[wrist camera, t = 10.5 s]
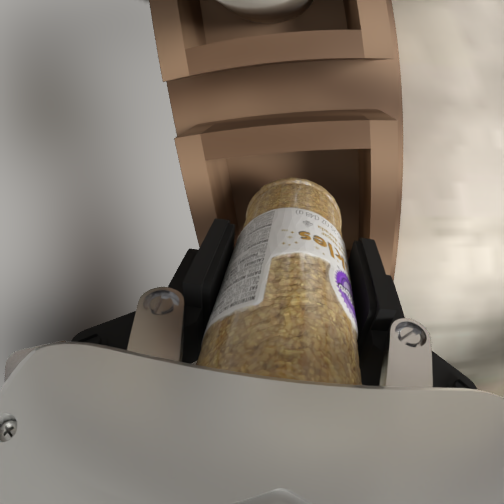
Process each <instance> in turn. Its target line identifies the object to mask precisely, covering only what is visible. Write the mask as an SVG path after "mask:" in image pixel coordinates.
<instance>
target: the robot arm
mask: <svg viewBox="0 0 504 504" xmlns="http://www.w3.org/2000/svg"><path fill="white" fill-rule="evenodd" d="M234 239H235V224H230V220H225V219H217V218H215V219H214V221H213V223H212V225H211V227H210V229H209V231H208V233H207V235H206V236H205V238H204V240H203V242H202V244H201V246H200V248H199V250H196V249H189V250H188V251H187V253H186V255H185V257H184V258H183V260H182V262H181V264H180V266H179V267H178V269H177V271H176V273H175V275H174V277H173V279H172V280H171V282H170V284H169V286H168V287H158V288H154V289H151V290H149V291H147V292H145V293H144V294H143V295H142V296H141V297H140V300H139V302H138V305H137V310H136V311H135V312H132V313H129V314H127V315H124V316H121V317H119V318H116V319H113V320H110V321H108V322H105V323H102V324H100V325H97V326H94V327H91V328H89V329H86V330H84V331H82V332H80V333H78V334H77V335H76V336H75V337H74V338H73V340H72V341H71V342H66V341H65V340H64V341H59V342H54V343H50V344H46V345H41V346H36V347H31V348H26V349H21V350H18V351H16V352H14V353H13V354H11V355H10V356H9V358H8V359H7V361H6V365H5V383H4V385H3V386H2V388H1V389H0V504H504V398H503V397H501V396H499V395H496V394H493V393H490V392H487V391H482V390H477V388H476V386H475V385H474V383H473V382H472V381H471V380H470V379H469V378H467V377H466V376H465V375H463V374H462V373H461V372H459V371H458V370H457V369H455V368H454V367H453V366H451V365H450V364H449V363H447V362H446V361H445V360H443V359H442V358H441V357H439V356H438V355H437V354H435V353H434V352H433V351H432V349H431V337H430V334H429V332H428V330H427V329H426V328H425V327H424V326H423V325H422V324H420V323H419V322H417V321H415V320H412V319H407V318H405V317H404V314H403V311H402V307H401V304H400V301H399V298H398V295H397V291H396V288H395V285H394V282H393V279H392V277H391V276H390V275H386V273H385V269H384V266H383V263H382V260H381V257H380V254H379V251H378V249H377V246H376V243H375V240H373V239H367V238H359V240H358V241H355V240H354V242H353V245H352V249H351V252H350V256H349V260H348V265H349V271H350V280H351V286H352V293H353V299H354V306H355V313H356V320H357V327H358V340H357V344H358V355H359V367H360V372H361V382H362V385H349V384H336V383H324V382H313V381H303V380H293V379H285V378H277V377H269V376H261V375H254V374H248V373H241V372H235V371H228V370H222V369H216V368H211V367H205V366H200V365H194V364H191V363H193V362H195V361H197V360H198V357H199V355H200V352H201V345H202V340H203V336H204V333H205V330H206V327H207V324H208V321H209V319H210V316H211V313H212V310H213V307H214V304H215V302H216V299H217V296H218V293H219V290H220V287H221V284H222V281H223V278H224V275H225V272H226V270H227V267H228V264H229V261H230V258H231V256H232V253H233V250H234Z"/></svg>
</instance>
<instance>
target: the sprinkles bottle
mask: <svg viewBox="0 0 504 504" xmlns="http://www.w3.org/2000/svg"><path fill="white" fill-rule="evenodd" d="M341 225H342V221H341V214H340V209H339V207H338V205H337V203H336V201H335V199H334V197H333V196H332V195H331V194H330V193H329V192H328V191H327V190H326V189H325V188H323V187H322V186H320V185H318V184H316V183H314V182H312V181H309V180H307V179H301V178H292V177H291V178H286V179H279V180H276V181H273V182H271V183H268V184H266V185H264V186H263V187H262V188H261V189H260V190H259V191H258V192H257V193H256V194H255V195H254V196H253V198H252V199H251V201H250V202H249V205H248V208H247V211H246V221H245V224H244V227H243V230H242V231H241V233H240V235H239V237H238V239H237V242H236V245H235V247H234V250H233V253H232V256H231V258H230V261H229V264H228V267H227V270H226V272H225V275H224V278H223V281H222V284H221V287H220V290H219V293H218V296H217V299H216V302H215V304H214V307H213V310H212V313H211V316H210V319H209V321H208V324H207V327H206V330H205V333H204V336H203V340H202V345H201V352H200V355H199V357H198V361H197V363H196V365H200V366H205V367H211V368H216V369H222V370H228V371H235V372H241V373H248V374H254V375H261V376H269V377H277V378H285V379H293V380H303V381H313V382H324V383H336V384H349V385H362V382H361V372H360V367H359V355H358V344H357V340H358V327H357V320H356V313H355V306H354V299H353V293H352V286H351V280H350V271H349V265H348V258H347V252H346V248H345V244H344V241H343V238H342V233H341Z"/></svg>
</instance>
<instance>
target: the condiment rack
mask: <svg viewBox="0 0 504 504" xmlns="http://www.w3.org/2000/svg"><path fill="white" fill-rule="evenodd" d="M149 2H150V8H151V15H152V21H153V28H154V34H155V40H156V45H157V51H158V57H159V63H160V68H161V74H162V79H163V82H165V81H166V82H167V87H168V92H169V98H170V103H171V108H172V113H173V118H174V123H175V127H176V133H177V137H176V138H175V144H176V149H177V153H178V158H179V162H180V167H181V171H182V176H183V181H184V185H185V189H186V194H187V198H188V202H189V206H190V211H191V215H192V219H193V223H194V226H195V231H196V235H197V239H198V243H199V247H200V246H201V244H202V242H203V240H204V238H205V236H206V235H207V233H208V231H209V229H210V227H211V225H212V223H213V221H214V219H215V218H217V219H225V220H230V224H235V239H234V247H235V245H236V242H237V239H238V237H239V235H240V233H241V231H242V230H243V227H244V224H245V221H246V211H247V208H248V205H249V202H250V201H251V199H252V198H253V196H254V195H255V194H256V193H257V192H258V191H259V190H260V189H261V188H262V187H263V186H264V185H266V184H268V183H271V182H273V181H276V180H279V179H286V178H291V177H292V178H301V179H307V180H309V181H312V182H314V183H316V184H318V185H320V186H322V187H323V188H325V189H326V190H327V191H328V192H329V193H330V194H331V195H332V196H333V197H334V199H335V201H336V203H337V205H338V207H339V209H340V214H341V221H342V225H341V233H342V238H343V241H344V244H345V248H346V252H347V258H348V260H349V256H350V252H351V249H352V245H353V242H354V240H355V241H358V240H359V238H367V239H373V240H375V243H376V246H377V249H378V251H379V254H380V257H381V260H382V263H383V266H384V269H385V273H386V275H390V276H391V277H392V279H393V281H394V273H395V265H396V257H397V248H398V238H399V227H400V214H401V199H402V177H403V111H402V90H401V75H400V63H399V52H398V43H397V35H396V27H395V20H394V13H393V7H392V1H391V0H149Z"/></svg>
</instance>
